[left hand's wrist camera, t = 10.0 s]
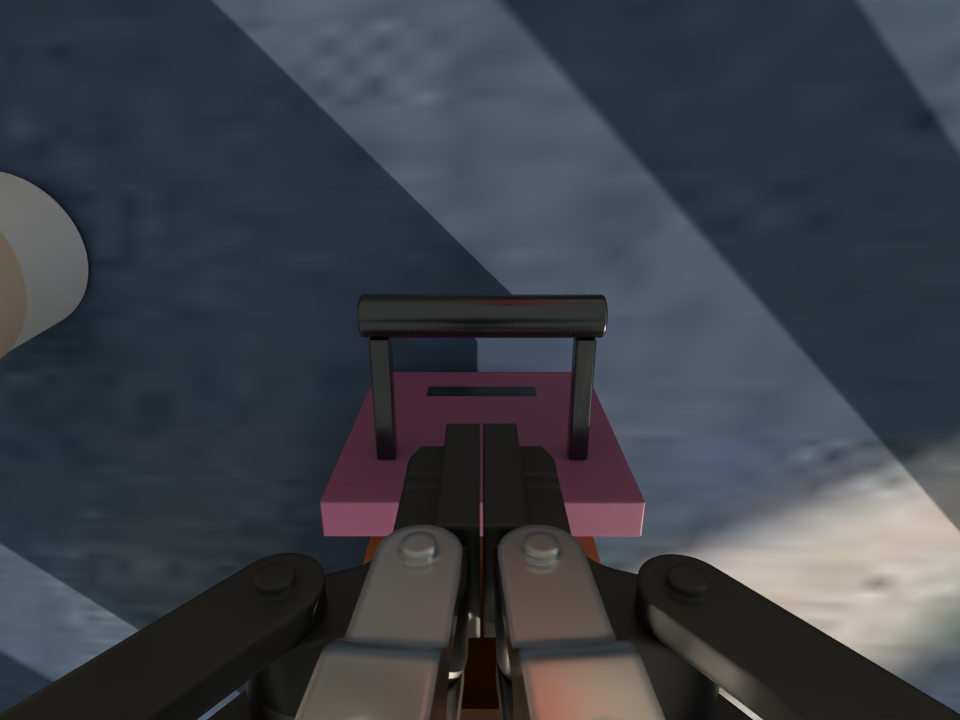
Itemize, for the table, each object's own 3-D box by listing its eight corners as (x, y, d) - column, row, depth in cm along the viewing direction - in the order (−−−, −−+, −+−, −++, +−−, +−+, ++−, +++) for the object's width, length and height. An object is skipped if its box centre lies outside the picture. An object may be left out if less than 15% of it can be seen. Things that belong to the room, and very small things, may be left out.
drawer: (367, 249, 23) (297, 321, 14) (595, 249, 23) (668, 321, 14) (398, 701, 33) (367, 919, 24) (562, 702, 33) (594, 919, 24)
